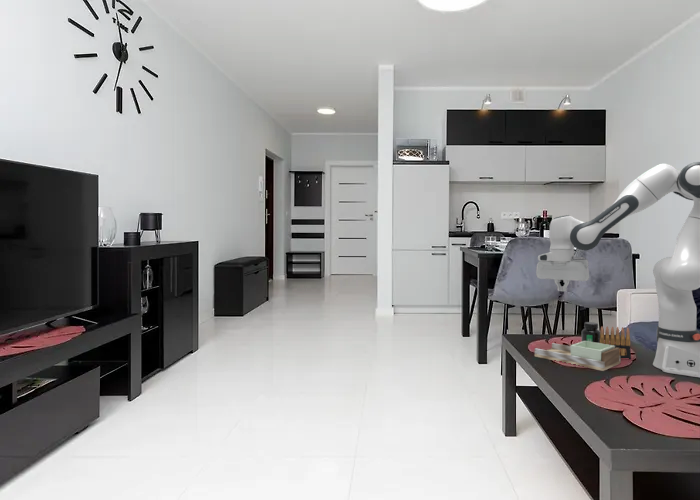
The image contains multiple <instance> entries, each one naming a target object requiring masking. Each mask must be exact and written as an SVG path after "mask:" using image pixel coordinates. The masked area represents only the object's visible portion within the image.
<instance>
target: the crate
mask: <svg viewBox="0 0 700 500" xmlns="http://www.w3.org/2000/svg"><path fill="white" fill-rule="evenodd" d="M570 346H571V355H572V356H577V357H582V358H587V359H592V360H597V361H602V353H603V352H606V351H608V350H611V349H614V348H615V346H613V345H608V344H602V343H596V342H590V341H582V340H581V341H579V342H576V343H574V344H573V343H572V344H570Z"/></svg>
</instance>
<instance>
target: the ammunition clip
mask: <svg viewBox="0 0 700 500" xmlns="http://www.w3.org/2000/svg"><path fill="white" fill-rule="evenodd" d="M610 328H611V329H609V326H606V328H605V331H604V327H603V325H602V326H600V330H599V331H600V343H602V344H608V345H613V346H615V348H616V347H617V348H619V355H620V356H621V358H629V359H628V360H631V359H632V356H631V354H632V353H631V351H632V350H631V333H630V332H631V331H630V328H629V327H627V328H626V331H625V328H624V327H621V331H620V329H619V327H618V326H617V327H616V329H614V326H611V327H610Z"/></svg>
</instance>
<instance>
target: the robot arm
mask: <svg viewBox="0 0 700 500" xmlns="http://www.w3.org/2000/svg"><path fill="white" fill-rule="evenodd" d="M670 193H673V194H675V195H678V196H679V197H681V198H684V199H686V200H689V201H693V206H692V209H691V211H690V212H689V214H688V216H687V217H686V219H685V221H684V223H683V224H682V227H681V229H680V231H679V233H678V234H677V236H676V242H675V247H674V250H673V254H672V256H667V257H664V258H661V259H660V260H658V261H657V262H656V263H655V264H654V266H653V269H652V272H653V273H652V274H653V277H654V281H655V283H654V284H655V291H656V295H657V302H658V326H657V328H656V341H657V347H656V351H655V352H656V353H655V357H654V359H653V363H652V366H653V367H655V368H657V369H659V370H662V372H664V373H668V374H675V375H679V376H688V377H692V378H693V377H694V378H700V330H698V329H697V309H698V307H697V304H696V303H695V300H694V296H693V291H695V290H698V289H700V161H696V162H692V163H689V164H687V165H686V166H684V167H683V168H682V169H681V170H679V169H676V168H675V167H674V166H673V165H671V164H668V163H660V164H657V165H655V166H653V167H651V168H650V169H648V170H646V171H645V172H643V173H642V174H640V175H639V176H638V177H636V178H635V179H634V180H632V181H631V182H630V183H628V185H627V186H626V187H625V188H624V189H623V190H622V191H621V192H620V193H619V195H618V196H617V199H615V201H614V202H613V203H612V204H611V205H610V206H609V207H607V208H606V209H605V210H603V211H602V212H601V213H600V214H598V215H597V216H596V217H594V218H593V219H591V220H589V221H586V222H585V221H583V220H580V219H578V218H576V217H573V216H572V215H570V214H568V215H567V214H566V215H560V216H556V217H554V218H553V219H552V220H551V221H550V225H549V241H550V247H549V252H546V253H542V254H539V255H538V256H537V261H538V262H537V264H536V270H535V275H536V277H537V279H540V280H544V279H545V280H554V284H555V285H556V287H557V289H556V290H557V291H558V292H567V291H568V290H567V289H568V286H569V284H570V281H576V282H587V281H588V280H589V279H590V271H589V260H588V259H587V258H585V256H575V248H576V249H578V250H579V251H590V250H593V249H594V248H596V247H597V246H598V244H599V243H600V242H601V239H602V238H603V236H604V235H605V233H606V232H608V231H609V230H611V228H614V226H615V225H617V224H618V223H619V222H621V221H622V220H624V219H626V218H628V217H629V216H632V215H635V214H637V213H639V212H642V211H644V210H646V209H648V208H649V207H651V206H653V205H654V204H656V203H657V202H658V201H660V200H662V198H663V197H665V196H667V195H668V194H670ZM561 281H563V283H564V284H563V286H562V285H561V283H560V282H561Z"/></svg>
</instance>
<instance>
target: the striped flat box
mask: <svg viewBox="0 0 700 500" xmlns="http://www.w3.org/2000/svg"><path fill="white" fill-rule="evenodd" d="M534 357H536V358H540V359H545V360H549V361H554V360H556V361H555V362H559V361H562V362H561V363H564V362H566V363H565V364H568V363H571V364H570V365H573V364H576V365H575V366H578V365H580V366H579V367H582V366H584V367H583V368H587V367H588V368H587V369H592V370H597V371H601V372H605V371H607V370H608V369H611V368H613V367H616V366H618V365H621V364H620V363H621V362H622V361H621V360H622V359H621V356H620V355H619V348H617V347H616V348H614V349H611V350H608V351H606V352H603V353H602V361H597V360H592V359H587V358H582V357H577V356H572V355H571V345H565V344H562V343H561V344H559V343H555V342H552V343H551V348H549V349H541V348H534Z"/></svg>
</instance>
